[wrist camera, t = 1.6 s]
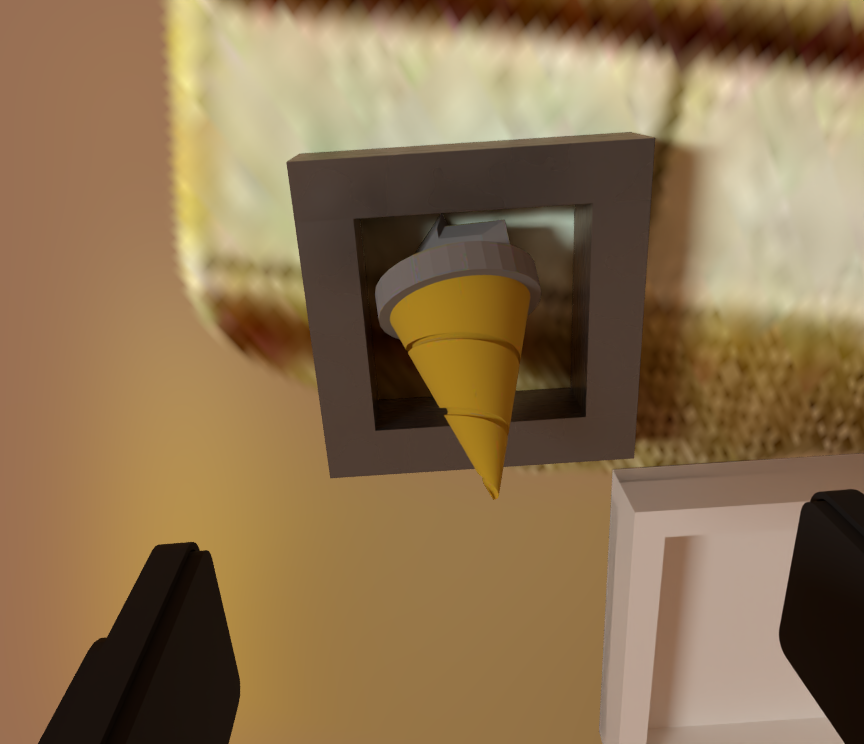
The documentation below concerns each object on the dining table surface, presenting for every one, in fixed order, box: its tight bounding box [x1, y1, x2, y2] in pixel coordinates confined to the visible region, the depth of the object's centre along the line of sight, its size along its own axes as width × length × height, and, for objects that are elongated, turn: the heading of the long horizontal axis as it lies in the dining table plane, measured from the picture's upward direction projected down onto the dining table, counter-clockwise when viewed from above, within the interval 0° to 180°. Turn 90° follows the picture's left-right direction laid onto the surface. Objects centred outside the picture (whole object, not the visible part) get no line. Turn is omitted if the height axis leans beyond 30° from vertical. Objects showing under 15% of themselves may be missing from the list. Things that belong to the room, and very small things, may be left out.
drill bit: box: [375, 213, 541, 500], centre depth 22 cm, size 5×5×10 cm
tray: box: [599, 453, 864, 744], centre depth 29 cm, size 15×15×3 cm
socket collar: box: [287, 132, 655, 478], centre depth 24 cm, size 11×11×2 cm
